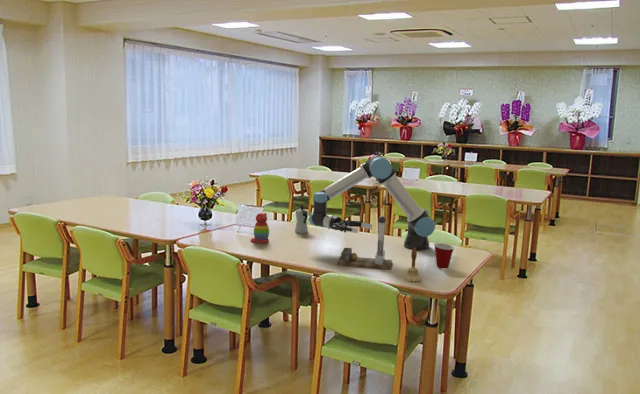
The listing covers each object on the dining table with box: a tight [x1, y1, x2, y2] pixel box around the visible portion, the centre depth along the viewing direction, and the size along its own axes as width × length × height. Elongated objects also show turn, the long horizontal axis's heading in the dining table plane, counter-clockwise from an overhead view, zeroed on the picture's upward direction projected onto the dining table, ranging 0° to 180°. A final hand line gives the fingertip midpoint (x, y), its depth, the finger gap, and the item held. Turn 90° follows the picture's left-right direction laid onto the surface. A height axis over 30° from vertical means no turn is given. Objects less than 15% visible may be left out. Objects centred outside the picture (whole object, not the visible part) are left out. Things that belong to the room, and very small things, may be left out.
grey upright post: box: [374, 215, 387, 265], centre depth 286 cm, size 4×11×25 cm, turn 169°
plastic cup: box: [433, 242, 456, 269], centre depth 287 cm, size 11×11×12 cm
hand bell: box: [403, 248, 422, 283], centre depth 264 cm, size 8×8×16 cm
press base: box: [336, 247, 393, 271], centre depth 290 cm, size 28×14×6 cm, turn 78°
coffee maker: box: [294, 205, 309, 235], centre depth 357 cm, size 15×9×18 cm, turn 23°
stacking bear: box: [250, 212, 270, 245], centre depth 330 cm, size 11×10×18 cm
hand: (364, 228), depth 292 cm, fingers open, 13 cm apart
